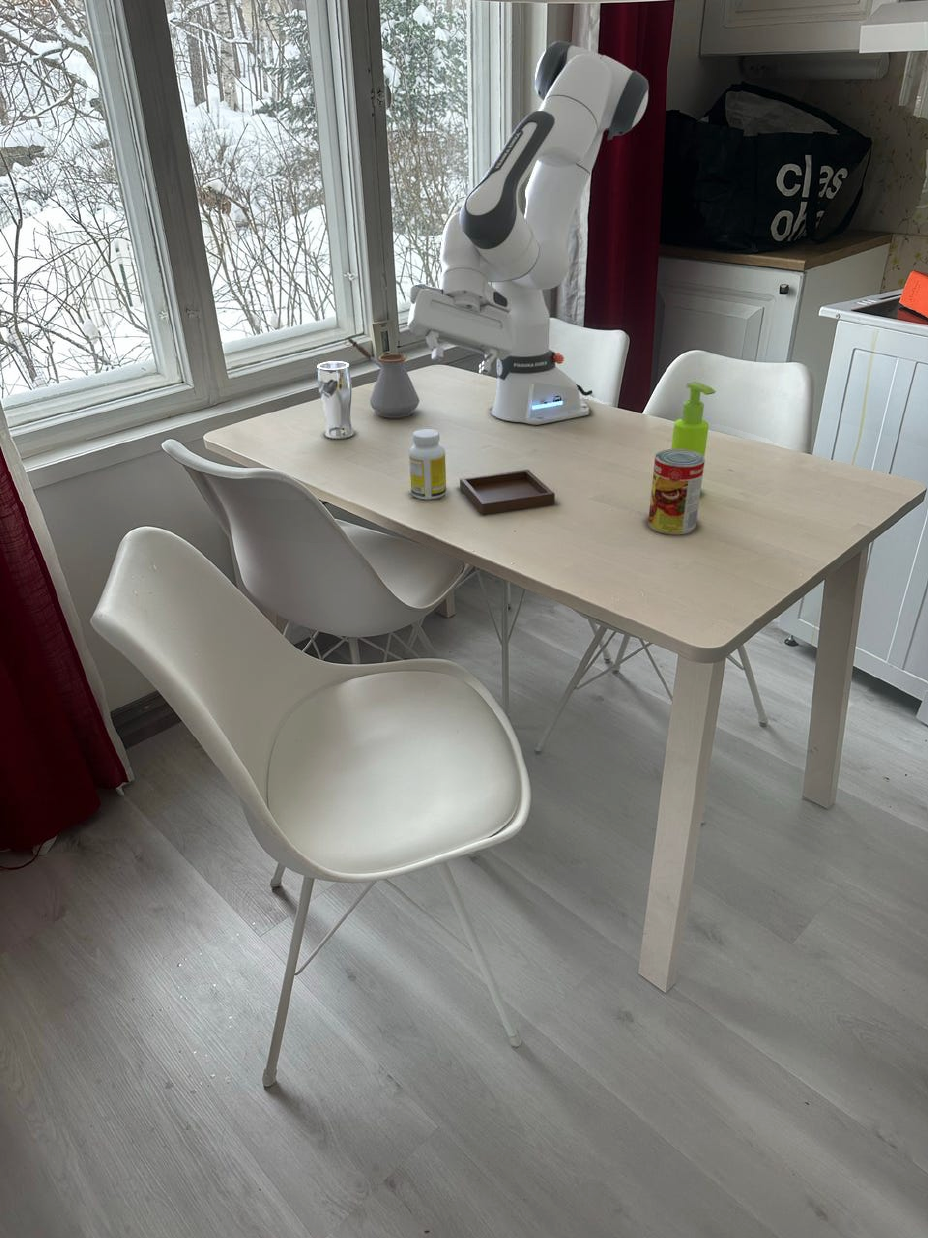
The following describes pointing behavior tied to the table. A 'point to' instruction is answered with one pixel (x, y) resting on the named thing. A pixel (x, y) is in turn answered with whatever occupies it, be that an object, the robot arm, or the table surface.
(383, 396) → the coffee pot
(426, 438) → the pill bottle
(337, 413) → the beer glass
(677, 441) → the soap dispenser
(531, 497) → the tray
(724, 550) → the table surface
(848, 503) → the table surface
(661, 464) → the canned food
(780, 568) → the table surface
